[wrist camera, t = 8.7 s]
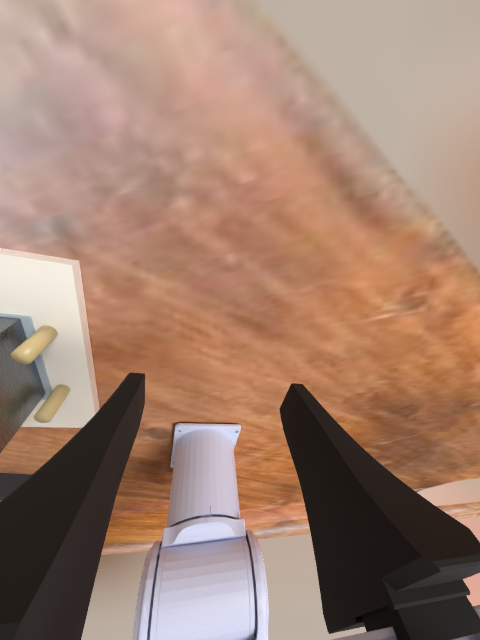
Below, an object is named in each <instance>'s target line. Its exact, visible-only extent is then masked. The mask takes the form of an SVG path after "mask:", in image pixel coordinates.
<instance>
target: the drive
mask: <svg viewBox="0 0 480 640" xmlns="http://www.w3.org/2000/svg"><path fill="white" fill-rule="evenodd" d="M25 340H27V337H26V334H25V331H24V328H23V325H22V322H21V319H20V318H10V317H0V453H1V452H2V450H3V449H4V448H5V446H6V445H7V444H8V442H9V441H10V440H11V438H12V437H13V436H14V435H15V433H16V432H17V431H18V429H19V428H20V427H21V425H22V424H23V423H24V421H25V420H26V419H27V417H28V416H29V415H30V414H31V412H32V411H33V410H34V408H35V407H36V406H37V404H38V403H39V402H40V400H41V399H42V398H43V397H44V395H45V394H46V393H45V390H44V387H43V384H42V381H41V378H40V375H39V372H38V369H37V366H36V364H35V361H34V360H33V361H32V362H31V363H30V364H19V363H17V362H15V361H14V360H13V359H12V358H11V353H12V352H13V351H14V350H15V349H16V348H17V347H19V346H20V345H21V344H22V343H23V342H24V341H25Z"/></svg>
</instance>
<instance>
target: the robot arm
mask: <svg viewBox="0 0 480 640" xmlns="http://www.w3.org/2000/svg"><path fill="white" fill-rule="evenodd" d="M144 404H145V374H142V373H129V374H128V375H127V376H126V378H125V379H124V380H123V382H122V383H121V384H120V386H119V387H118V388H117V390H116V391H115V392H114V393H113V394H112V396H111V397H110V398H109V399H108V400H107V402H106V403H105V404H104V405H103V406H102V407H101V408H100V410H99V411H98V412H97V413H96V414H95V415H94V416H93V417H92V418H91V419H90V421H89V422H88V423H87V424H86V425H85V426H84V427H83V428H82V429H81V430H80V431H79V432H78V433H77V434H76V435H75V436H74V437H73V438H72V439H71V440H70V441H69V442H68V443H67V444H66V445H65V446H64V447H63V448H62V449H61V450H60V451H58V452H57V453H56V454H55V455H54V456H53V457H52V458H51V459H50V460H49V461H48V462H47V463H45V464H44V465H43V466H42V467H41V468H40V469H39V470H37V471H36V472H35V473H34V474H33V475H32V476H30V477H29V478H28V479H27V480H26V481H25V482H24V483H22V484H21V485H20V486H19V487H18V488H16V489H15V490H14V491H13V492H12V493H10V494H9V495H8V496H7V497H5V498H4V499H3V500H2V501H0V640H81V637H82V633H83V628H84V624H85V620H86V615H87V611H88V606H89V602H90V598H91V594H92V590H93V586H94V581H95V577H96V573H97V569H98V565H99V561H100V557H101V553H102V549H103V545H104V541H105V537H106V533H107V529H108V525H109V521H110V517H111V513H112V509H113V505H114V501H115V498H116V494H117V491H118V487H119V484H120V481H121V478H122V475H123V472H124V469H125V467H126V464H127V461H128V458H129V455H130V452H131V449H132V446H133V443H134V441H135V438H136V435H137V432H138V429H139V426H140V421H141V417H142V413H143V409H144ZM280 414H281V420H282V425H283V430H284V433H285V436H286V440H287V443H288V446H289V449H290V452H291V455H292V459H293V462H294V465H295V468H296V471H297V474H298V478H299V481H300V485H301V489H302V493H303V498H304V502H305V507H306V512H307V516H308V521H309V526H310V531H311V537H312V542H313V548H314V554H315V560H316V566H317V572H318V579H319V586H320V593H321V600H322V608H323V615H324V618H325V622H326V626H327V629H328V632H329V634H331V633H335V632H339V631H345V630H350V629H354V628H359V627H364V626H365V628H366V631H367V632H365V633H361V634H356V635H351V636H347V637H342V638H338V639H333V640H480V605H478V606H474V607H473V606H472V605H471V603H470V602H469V600H468V599H467V597H466V595H470V591H469V589H468V587H467V586H466V584H465V583H464V581H463V580H462V579H464V578H467V577H470V576H472V575H475V574H477V573H480V542H479V541H478V540H477V538H476V537H475V535H474V534H473V533H472V532H471V530H470V529H469V528H467V527H466V526H464V525H463V524H461V523H460V522H458V521H457V520H455V519H454V518H452V517H451V516H449V515H448V514H446V513H445V512H443V511H442V510H440V509H439V508H437V507H436V506H434V505H433V504H432V503H430V502H429V501H427V500H426V499H425V498H423V497H422V496H421V495H419V494H417V493H416V492H415V491H414V490H412V489H411V488H410V487H408V486H407V485H406V484H405V483H403V482H402V481H401V480H399V479H398V478H397V477H396V476H394V475H393V474H392V473H391V472H389V471H388V470H387V469H386V468H385V467H383V466H382V465H381V464H380V463H379V462H377V461H376V460H375V459H374V458H373V457H372V456H371V455H370V454H369V453H367V452H366V451H365V450H364V449H363V448H362V447H361V446H360V445H359V444H358V443H357V442H356V441H355V440H354V439H353V438H352V437H351V436H350V435H349V434H348V433H347V432H346V431H345V430H344V429H343V428H342V427H341V426H340V425H339V424H338V423H337V422H336V421H335V420H334V419H333V418H332V417H331V416H330V414H329V413H328V412H327V411H326V410H325V409H324V408H323V407H322V406H321V404H320V403H319V402H318V401H317V400H316V399H315V398H314V397H313V395H312V394H311V393H310V392H309V391H308V390H307V389H306V388H305V386H304V385H303V384H293V383H292V384H291V386H290V388H289V390H288V392H287V394H286V396H285V399H284V401H283V403H282V405H281V407H280ZM240 430H241V426H240V425H238V424H196V423H178V424H176V425H175V432H174V440H173V448H172V456H171V464H170V467H171V468H173V476H172V485H171V493H170V502H169V510H168V519H167V527H166V528H164V529H163V537H162V541H156V542H155V543H154V544H153V547H152V548H151V549H150V550H149V551H148V553H147V555H146V559H145V563H144V566H143V571H142V576H141V581H140V587H139V593H138V599H137V606H136V614H135V622H134V632H133V640H269V637H268V619H269V605H268V590H267V581H266V572H265V566H264V560H263V555H262V551H261V547H260V544H259V541H258V539H257V538H256V536H255V535H254V534H253V532H252V531H251V530H245V521H244V519H240V510H239V500H238V490H237V480H236V470H235V459H234V447H235V444H236V441H237V439H238V436H239V433H240Z"/></svg>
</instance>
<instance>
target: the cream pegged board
mask: <svg viewBox="0 0 480 640" xmlns="http://www.w3.org/2000/svg"><path fill="white" fill-rule="evenodd" d="M0 317H10V318H20V319H21V322H22V325H23V328H24V331H25V334H26V337H27V340H25V341H24V342H23V343H22V344H21V345H20V346H19V347H17V348H16V349H15V350H14V351H13V352H12V353H11V358H12V359H13V360H14V361H15V362H17V363H19V364H30V363H31V362H32V361H33V360H34V361H35V364H36V366H37V369H38V372H39V375H40V378H41V381H42V384H43V387H44V390H45V393H46V394H45V395H44V397H43V398H42V399H41V400H40V402H39V403H38V404H37V406H36V407H35V408H34V410H33V411H32V412H31V414H30V415H29V416H28V417H27V419H26V420H25V421H24V423H23V424H22V425H21V427H64V428H83V427H84V426H85V425H86V424H87V423H88V422H89V421H90V419H91V418H92V417H93V416H94V415H95V414H96V413H97V412H98V411H99V410H100V408H99V401H98V393H97V386H96V379H95V372H94V365H93V357H92V350H91V343H90V336H89V329H88V321H87V314H86V307H85V300H84V293H83V286H82V278H81V271H80V264H79V261H78V260H72V259H66V258H59V257H53V256H47V255H41V254H35V253H28V252H22V251H16V250H10V249H3V248H0Z"/></svg>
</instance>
